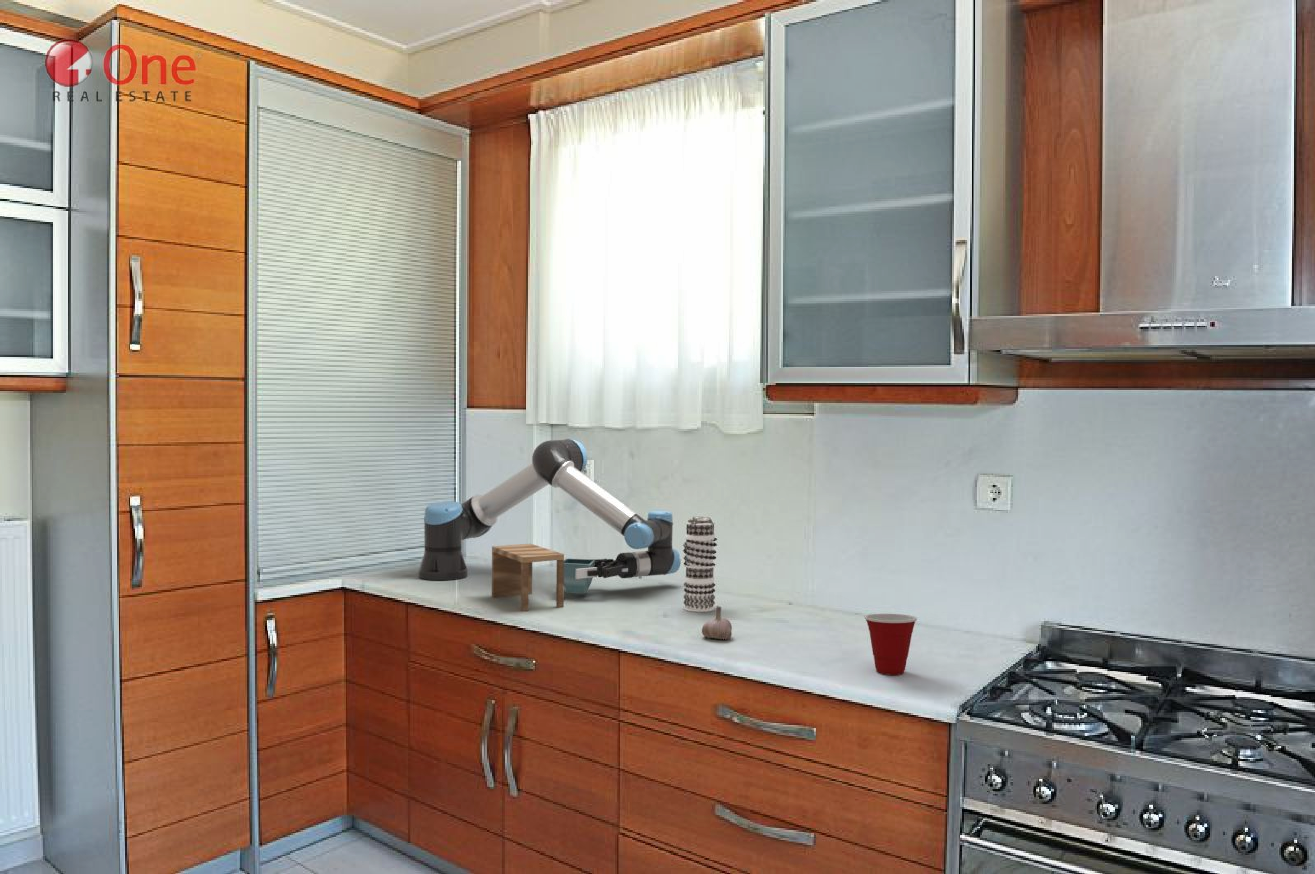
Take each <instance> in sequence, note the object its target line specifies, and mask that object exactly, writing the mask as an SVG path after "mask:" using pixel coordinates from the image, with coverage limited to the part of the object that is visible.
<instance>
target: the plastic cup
mask: <svg viewBox="0 0 1315 874" xmlns="http://www.w3.org/2000/svg"><path fill="white" fill-rule="evenodd" d="M864 619H865V621H866V623H867V627H868V631H869V637H870V645H871V649H872V651H871V652H872V656H873V660H874V661H873V662H874V667H875V671H876V672H877V673H878V672H879V673H878V674H880V673H881V674H880V675H884V674H890V675H889V676H899V675H898V674H901V675H904V673H905V670H906V668H907V667H906V666H907V660H908V657H909V653H910V648H911V642H912V636H913V632H914V628H915V624H916V621H917V620H918V617H917V616H915V615H910V614H903V613H902V614H901V613H873V614H872V613H871V614H866V615H864Z"/></svg>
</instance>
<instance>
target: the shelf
mask: <svg viewBox="0 0 1315 874" xmlns="http://www.w3.org/2000/svg"><path fill="white" fill-rule="evenodd" d="M564 560H565V553H563V552H562V553H561V552H559V551H555V550H553V549H552V550H551V549H548V548H545V547H543V546H539V545H535V544H532V543H523V544H507V545H496V546H495V545H494V546H491V597H492V598H500V597H499V596H503V597H512V596H517V595H518V596H520V611H521V612H528V611H529V595H530V594H531V595H532V594H533V563H538V562H553V561H556V588H555V589H556V594H555V596H556V597H555V598H556V602H555V606H556V607H557V606H558V607H557V608H562V607H561V606H564V603H565V602H564V601H565V597H564V595H565V593H564V592H565V587H564ZM564 607H565V606H564Z"/></svg>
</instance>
